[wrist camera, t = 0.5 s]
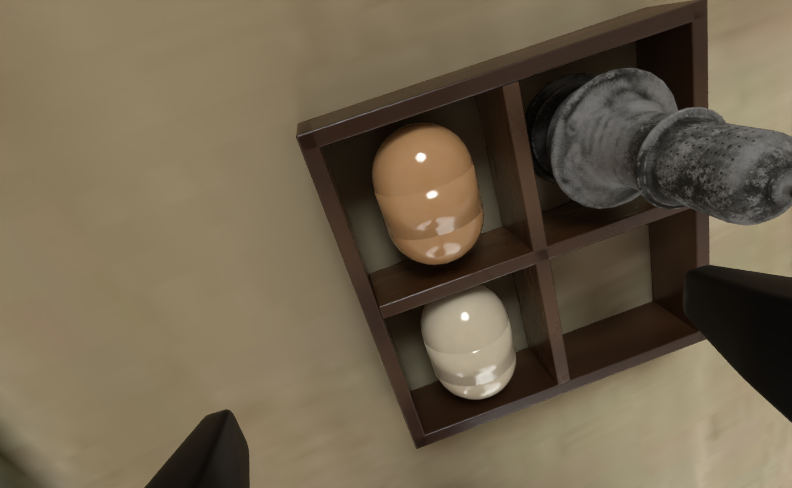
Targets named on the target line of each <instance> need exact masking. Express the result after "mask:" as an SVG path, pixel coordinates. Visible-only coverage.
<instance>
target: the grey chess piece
mask: <svg viewBox="0 0 792 488" xmlns="http://www.w3.org/2000/svg"><path fill="white" fill-rule="evenodd" d="M525 121H526V127H527V133H528V139H529V144H530V150H531V156H532V162H533V168H534V171H535V172H536V173H537V174H538V175H539V176H541V177H543V178H545V179H547V180H549V181H552V182H557V183H558V185H559V187H560V188H561V189H562V191H563V192H564V193H565V194H566V195H567V196H568V197H569V198H570V199H572V200H574V201H576V202H578V203H580V204H581V205H583V206H587V207H593V208H598V209H601V208H610V207H616V206H619V205H622V204H624V203H627V202H630V201H631V200H633V199H635V198H636V197H638V196H639V195H642V196H643V198H644V199H645V200H646V201H647V202H649V203H650V204H652V205H654V206H656V207H658V208H663V209H678V208H682V207H685V206H686V207H689V208H692V209H694V210H697V211H699V212H702V213H704V214H707V215H710V216H712V217H715V218H717V219H720V220H723V221H725V222H728V223H733V224H739V225H755V224H759V223H762V222H766V221H768V220H771V219H774V218H776V217H778V216H779V215H781V214H782V213H784V212H785V211H787V210H788V209H789V208H790V207H791V206H792V137H791V136H789V135H787V134H784V133H781V132H777V131H773V130H766V129H760V128H753V127H747V126H740V125H734V124H727V123H726V122H725V120H724V119H723V118H722V116H720V115H719V114H718V113H716V112H715V111H713V110H711V109H707V108H703V107H691V108H685V109H682V110H679V111H678V109H677V105H676V102H675V99H674V96H673V94H672V93H671V91H670V90H669V88H668V87H667V85H666V84H665V83H664V81H662V80H661V79H659V78H658V77H657V76H655V75H654V74H652V73H651V72H648V71H644V70H641V69H637V68H622V69H614V70H611V71H608V72H605V73H603V74H600V75H598V76H594V75H590V74H586V73H580V74H569V75H566V76H564V77H561V78H558V79H556V80H555V81H553V82H552V83H550V84H549V85H547V86H546V87H544V88H543V89H542V91H541V92H540V93H539V94H538V95H537V96H536V97H535V98H534V100H533V101H532V103H531V105H530V107H529V109H528V110H527V112H526V115H525Z"/></svg>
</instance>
